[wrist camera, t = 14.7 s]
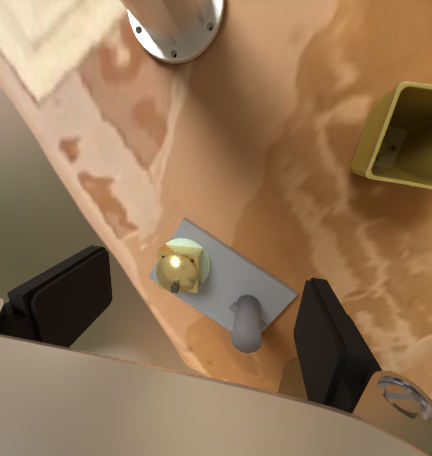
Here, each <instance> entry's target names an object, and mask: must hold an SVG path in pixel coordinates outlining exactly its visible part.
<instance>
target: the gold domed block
mask: <svg viewBox="0 0 432 456" xmlns="http://www.w3.org/2000/svg"><path fill="white" fill-rule="evenodd" d="M191 259H193V260H194V262H193V261H192V260H191ZM202 260H203V248H195V247H186V246H177V245H168V244H165V245H164V246H163V247H161V248H160V249H159V250H158V265H157V268H156V276H157V279H158V281H159V288H164V289H166V290H168V291H170V292H171V293H185V292H192V293H198V291H199V288H200V286H201V284H202Z"/></svg>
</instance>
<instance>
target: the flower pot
mask: <svg viewBox="0 0 432 456" xmlns="http://www.w3.org/2000/svg"><path fill="white" fill-rule="evenodd" d="M386 132H387V134H386V135H385V133H386ZM384 135H385V136H384ZM392 146H393V147H395V149H394V150H393V151H391V150H390V148H391V147H392ZM376 157H377V160H376V161H375V159H376ZM351 170H352V172H354V173H355V174H358V175H360V176H363V177H366V178H368V179H373V180H379V181H386V182H392V183H398V184H404V185H410V186H415V187H420V188H425V189H430V190H432V85H430V84H424V83H418V82H401V83H400V84H399V85H398V86H396V87H395V88H394V89H393V90H391V91H390V92H389V93H387V94H386V95H385V96H384V97H382V98H381V99H380V100H379V101H378V102H377V103H376V104H375V105H374V106H373V107H372V109H371V111H370V112H369V115H368V117H367V120H366V123H365V126H364V128H363V131H362V134H361V137H360V140H359V143H358V146H357V149H356V152H355V155H354V157H353V160H352V163H351Z"/></svg>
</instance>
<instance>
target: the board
mask: <svg viewBox="0 0 432 456" xmlns="http://www.w3.org/2000/svg"><path fill="white" fill-rule="evenodd" d="M166 244H168V245H177V246H186V247H195V248H203V260H202V284H201V286H200V288H199V291H198V293H192V292H185V293H173V294H174V295H176V296H177V297H179V298H180V299H182V300H183V301H185V302H187V303H188V304H190V305H191V306H193V307H194V308H196V309H197V310H199V311H200V312H202V313H203V314H205V315H206V316H208V317H209V318H211V319H212V320H214V321H215V322H217V323H218V324H220V325H221V326H223V327H224V328H226V329H227V330H229V331H231V332H232V343H233V345H234V347H235V348H236V349H238V350H239V351H241V352H245V353H251V352H255V351H257V350H258V349H259V348H260V346H261V333H262V332H263V331H264V330H265V329H266V328H267V327H268V325H269V324H270V323H271V322H272V321H273V320H274V319H275V318H276V317H277V316H278V315H279V314H280V313H281V312H282V311H283V310H284V309H285V308H286V306H287V305H288V304H289V303H290V302H291V301H292V300H293V299H294V298H295V297H296V296H297V293H296V291H295V290H294V289H292V288H291V287H289V286H288V285H286V284H284V283H283V282H281V281H280V280H278V279H277V278H275V277H274V276H272V275H271V274H269V273H268V272H266V271H265V270H263V269H262V268H260V267H259V266H257V265H256V264H254V263H253V262H251V261H250V260H248V259H247V258H245V257H244V256H242V255H241V254H239V253H238V252H236V251H235V250H233V249H232V248H230V247H229V246H227V245H226V244H224V243H223V242H221V241H220V240H218V239H217V238H215V237H214V236H212V235H211V234H209V233H208V232H206V231H205V230H203V229H202V228H200V227H199V226H197V225H196V224H194V223H193V222H191V221H190V220H188V219H187V218H184V219H183V221H182V222H181V224H180V226H179V227H178V229H177V231H176V232H175V234H174V235H173V237H172V239H171V240H170V241H169V242H168V243H166ZM191 260H192V261H193V262H194V260H193V259H191ZM157 265H158V262H157V264H156V265H155V267H154V269H153V270H152V272H151V274H150V275H149V278H150V279H152V280H153V281H155V282H156V283H158V284H159V281H158V279H157V276H156V268H157Z"/></svg>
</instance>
